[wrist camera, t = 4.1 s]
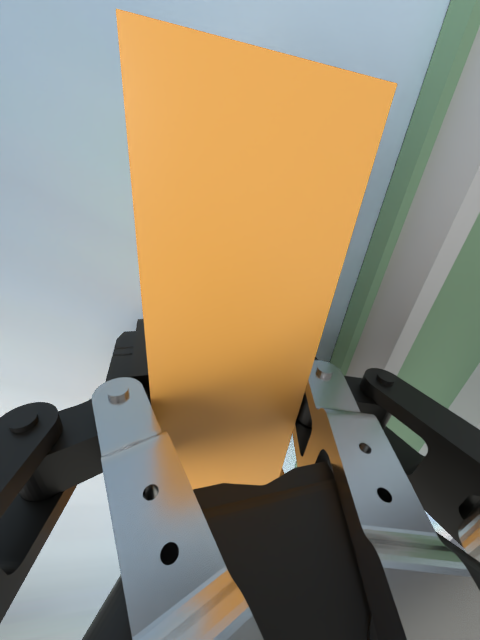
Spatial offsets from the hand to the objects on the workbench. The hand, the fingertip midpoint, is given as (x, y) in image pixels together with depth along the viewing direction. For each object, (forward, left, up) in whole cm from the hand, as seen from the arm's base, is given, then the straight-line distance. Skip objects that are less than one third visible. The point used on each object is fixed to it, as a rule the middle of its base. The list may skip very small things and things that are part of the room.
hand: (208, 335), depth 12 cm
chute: (0, 0, 0) cm, 0 cm away
